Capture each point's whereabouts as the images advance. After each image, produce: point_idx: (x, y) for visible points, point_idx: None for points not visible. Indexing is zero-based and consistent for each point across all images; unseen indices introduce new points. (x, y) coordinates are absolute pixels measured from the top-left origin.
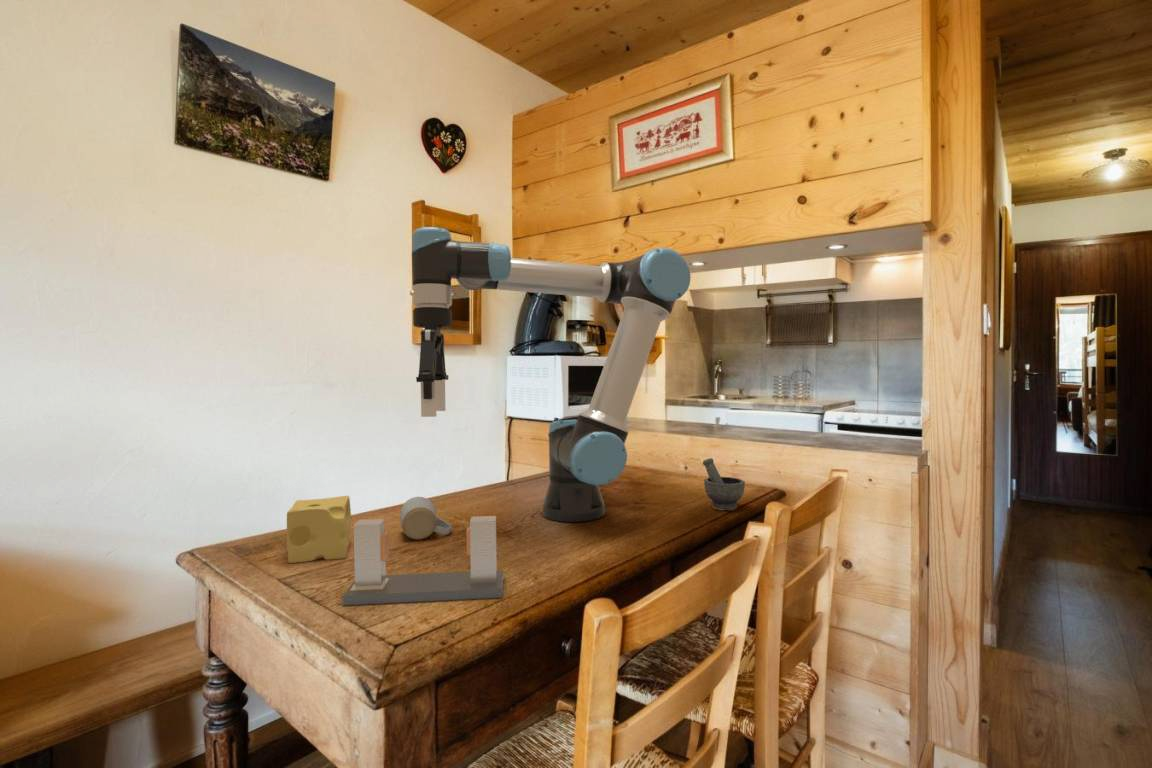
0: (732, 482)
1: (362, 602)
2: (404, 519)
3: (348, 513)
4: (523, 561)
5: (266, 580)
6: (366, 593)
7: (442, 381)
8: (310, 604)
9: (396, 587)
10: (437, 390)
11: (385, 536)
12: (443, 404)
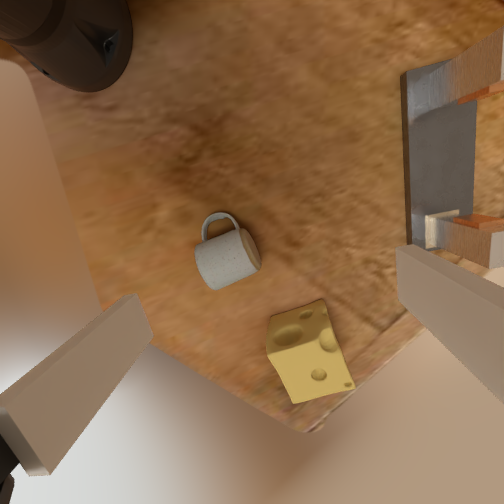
0: None
1: None
2: (259, 268)
3: (275, 337)
4: (331, 64)
5: (385, 340)
6: None
7: (21, 410)
8: None
9: (453, 196)
10: (86, 384)
11: (497, 219)
12: (123, 312)
